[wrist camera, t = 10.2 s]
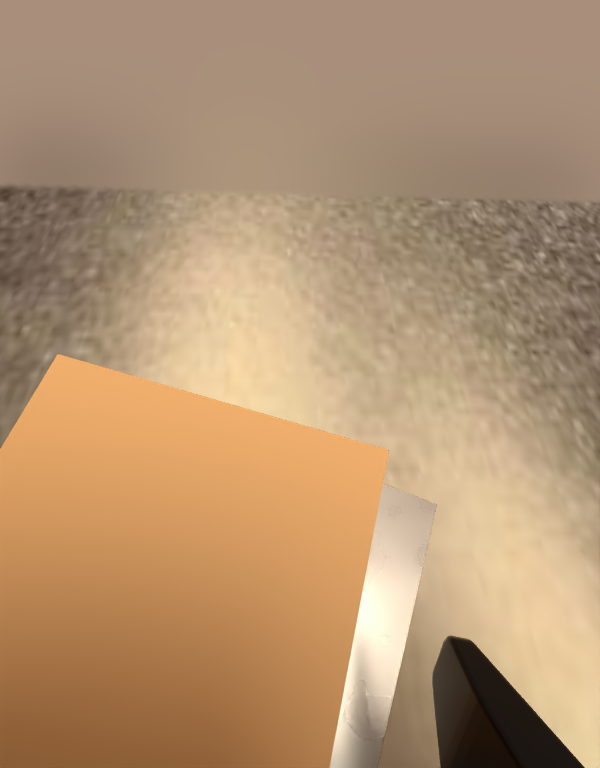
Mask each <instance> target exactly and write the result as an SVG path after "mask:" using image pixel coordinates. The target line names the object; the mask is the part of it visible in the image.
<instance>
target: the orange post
mask: <svg viewBox="0 0 600 768" xmlns="http://www.w3.org/2000/svg"><path fill="white" fill-rule="evenodd" d="M388 454H389V450H387V449H383V448H380V447H376V446H373V445H369V444H366V443H362V442H359V441H356V440H352V439H349V438H345V437H342V436H338V435H335V434H331V433H328V432H325V431H321V430H318V429H314V428H311V427H307V426H304V425H300V424H297V423H294V422H290V421H287V420H283V419H280V418H276V417H273V416H269V415H266V414H263V413H259V412H256V411H252V410H249V409H245V408H242V407H238V406H235V405H232V404H228V403H225V402H221V401H218V400H214V399H211V398H207V397H204V396H201V395H197V394H194V393H190V392H187V391H183V390H180V389H176V388H173V387H170V386H166V385H163V384H159V383H156V382H152V381H149V380H145V379H142V378H139V377H135V376H132V375H128V374H125V373H121V372H118V371H114V370H111V369H108V368H104V367H101V366H97V365H94V364H90V363H87V362H83V361H80V360H77V359H73V358H70V357H66V356H63V355H59V354H58V355H57V356H56V358H55V360H54V361H53V363H52V365H51V366H50V368H49V370H48V371H47V373H46V375H45V376H44V378H43V380H42V381H41V383H40V385H39V386H38V388H37V389H36V391H35V393H34V394H33V396H32V398H31V399H30V401H29V403H28V404H27V406H26V408H25V409H24V411H23V413H22V414H21V416H20V418H19V419H18V421H17V423H16V424H15V426H14V428H13V429H12V431H11V433H10V434H9V436H8V438H7V439H6V441H5V443H4V444H3V446H2V448H1V449H0V768H329V767H330V762H331V757H332V751H333V746H334V741H335V735H336V730H337V725H338V719H339V714H340V709H341V704H342V698H343V693H344V688H345V682H346V677H347V672H348V666H349V661H350V656H351V650H352V645H353V640H354V634H355V629H356V624H357V618H358V613H359V608H360V603H361V597H362V592H363V587H364V581H365V576H366V571H367V565H368V560H369V555H370V549H371V544H372V539H373V533H374V528H375V523H376V517H377V512H378V507H379V501H380V496H381V491H382V486H383V480H384V475H385V470H386V464H387V459H388Z"/></svg>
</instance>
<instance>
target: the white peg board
mask: <svg viewBox="0 0 600 768" xmlns="http://www.w3.org/2000/svg"><path fill="white" fill-rule="evenodd" d="M436 507H437V504H435V503H432V502H429V501H427V500H424V499H422V498H419V497H416V496H414V495H411V494H409V493H406V492H404V491H401V490H398V489H396V488H393V487H391V486H388V485H386V484H383V486H382V491H381V496H380V501H379V507H378V512H377V517H376V523H375V528H374V533H373V539H372V544H371V549H370V555H369V560H368V565H367V571H366V576H365V581H364V587H363V592H362V597H361V603H360V608H359V613H358V618H357V624H356V629H355V634H354V640H353V645H352V650H351V656H350V661H349V666H348V672H347V677H346V682H345V688H344V693H343V698H342V704H341V709H340V714H339V719H338V725H337V730H336V735H335V741H334V746H333V751H332V757H331V762H330V767H329V768H377V767H378V762H379V758H380V754H381V749H382V745H383V740H384V736H385V732H386V727H387V723H388V718H389V714H390V710H391V705H392V701H393V696H394V692H395V688H396V683H397V679H398V674H399V670H400V666H401V661H402V657H403V652H404V648H405V644H406V639H407V635H408V630H409V626H410V622H411V617H412V613H413V608H414V604H415V600H416V595H417V591H418V586H419V582H420V578H421V573H422V569H423V564H424V560H425V556H426V551H427V547H428V542H429V538H430V534H431V529H432V525H433V520H434V516H435V512H436Z"/></svg>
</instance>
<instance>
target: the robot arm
mask: <svg viewBox="0 0 600 768" xmlns="http://www.w3.org/2000/svg"><path fill="white" fill-rule="evenodd" d="M432 688H433V697H434V707H435V717H436V727H437V736H438V746H439V756H440V766H441V768H585V767H584V766H583V765H582V764H581V763H580V762H579V761H578V760H577V758H576V757H575V756H574V755H573V754H572V753H571V752H570V751H569V749H568V748H567V747H566V746H565V745H564V744H563V743H562V742H561V740H560V739H559V738H558V737H557V736H556V735H555V734H554V733H553V731H552V730H551V729H550V728H549V727H548V726H547V725H546V724H545V722H544V721H543V720H542V719H541V718H540V717H539V716H538V715H537V713H536V712H535V711H534V710H533V709H532V708H531V707H530V706H529V704H528V703H527V702H526V701H525V700H524V699H523V698H522V697H521V695H520V694H519V693H518V692H517V691H516V690H515V689H514V688H513V686H512V685H511V684H510V683H509V682H508V681H507V680H506V679H505V677H504V676H503V675H502V674H501V673H500V672H499V671H498V670H497V668H496V667H495V666H494V665H493V664H492V663H491V662H490V661H489V659H488V658H487V657H486V656H485V655H484V654H483V653H482V652H481V650H480V649H479V648H478V647H477V646H476V645H475V644H474V643H473V642H472V641H471V640H469V639H465V638H460V637H455V636H448V637H447V638H446V639H445V640H444V642H443V645H442V648H441V650H440V653H439V656H438V659H437V661H436V664H435V667H434V670H433V675H432Z"/></svg>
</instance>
